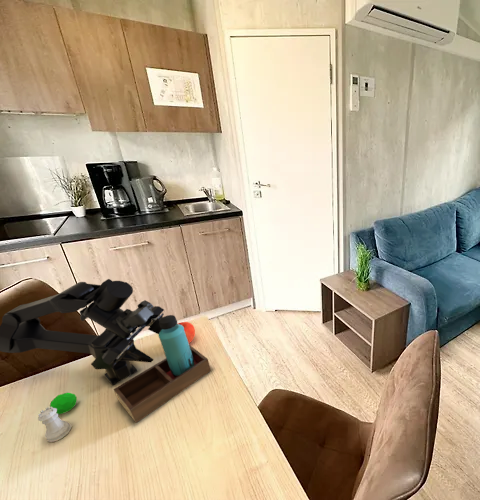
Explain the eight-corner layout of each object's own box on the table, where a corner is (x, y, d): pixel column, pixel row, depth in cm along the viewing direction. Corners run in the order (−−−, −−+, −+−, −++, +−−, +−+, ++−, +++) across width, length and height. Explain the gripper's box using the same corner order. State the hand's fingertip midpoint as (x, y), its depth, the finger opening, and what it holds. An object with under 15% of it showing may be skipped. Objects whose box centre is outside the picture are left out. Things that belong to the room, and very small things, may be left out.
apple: (179, 334, 102) (174, 316, 99) (201, 334, 102) (196, 316, 99) (165, 350, 95) (159, 331, 92) (189, 350, 95) (183, 331, 92)
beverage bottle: (195, 376, 85) (179, 322, 77) (170, 383, 82) (150, 328, 74) (197, 360, 90) (182, 309, 82) (173, 367, 88) (155, 314, 80)
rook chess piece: (76, 428, 71) (63, 406, 68) (54, 445, 67) (39, 423, 64) (64, 422, 72) (51, 400, 69) (42, 439, 68) (27, 417, 65)
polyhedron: (54, 408, 76) (46, 396, 74) (79, 397, 79) (72, 385, 77) (54, 421, 72) (46, 409, 70) (79, 409, 75) (72, 397, 73)
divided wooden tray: (119, 401, 78) (113, 389, 76) (192, 356, 93) (189, 344, 91) (136, 423, 72) (130, 410, 70) (211, 370, 87) (207, 358, 85)
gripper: (97, 323, 67) (156, 359, 71) (149, 282, 84) (194, 313, 88) (77, 348, 70) (134, 381, 75) (131, 304, 87) (175, 333, 92)
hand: (162, 349), depth 82 cm, fingers open, 9 cm apart
